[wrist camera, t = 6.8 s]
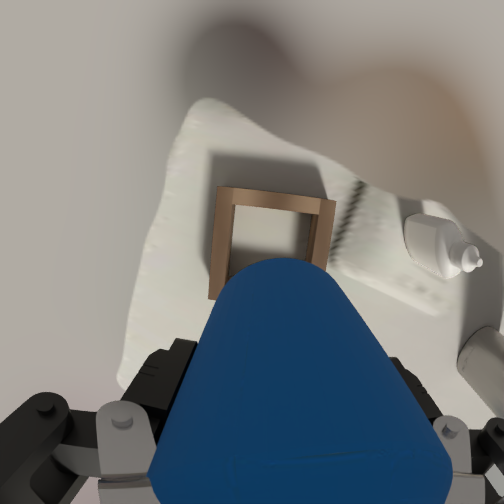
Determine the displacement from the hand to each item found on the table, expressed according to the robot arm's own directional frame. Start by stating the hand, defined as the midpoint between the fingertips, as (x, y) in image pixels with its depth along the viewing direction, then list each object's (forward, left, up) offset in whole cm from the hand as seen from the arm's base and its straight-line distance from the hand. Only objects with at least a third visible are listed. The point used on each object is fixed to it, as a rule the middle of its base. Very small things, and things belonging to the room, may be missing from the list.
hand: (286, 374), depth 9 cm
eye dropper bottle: (-17, -3, -22) cm, 28 cm away
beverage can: (0, 0, -5) cm, 5 cm away
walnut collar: (0, 0, -21) cm, 21 cm away
